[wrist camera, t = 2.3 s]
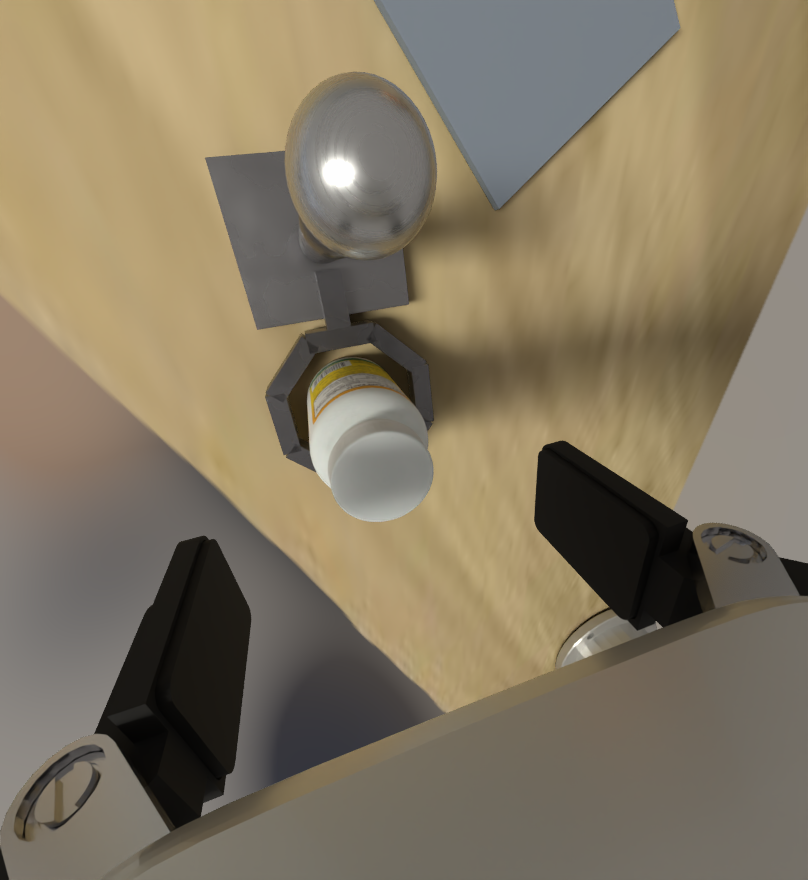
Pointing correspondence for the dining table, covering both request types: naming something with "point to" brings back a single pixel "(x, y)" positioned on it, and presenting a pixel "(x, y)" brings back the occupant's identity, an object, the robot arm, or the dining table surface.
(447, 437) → the dining table surface
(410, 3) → the rubber mat
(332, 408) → the supplement bottle
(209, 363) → the dining table surface
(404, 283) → the ring stand
